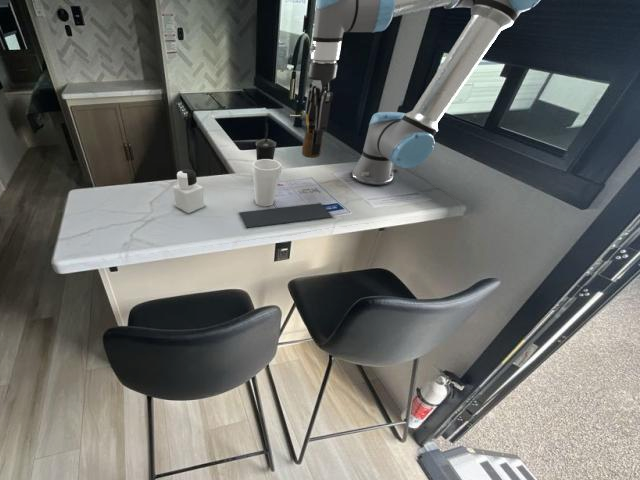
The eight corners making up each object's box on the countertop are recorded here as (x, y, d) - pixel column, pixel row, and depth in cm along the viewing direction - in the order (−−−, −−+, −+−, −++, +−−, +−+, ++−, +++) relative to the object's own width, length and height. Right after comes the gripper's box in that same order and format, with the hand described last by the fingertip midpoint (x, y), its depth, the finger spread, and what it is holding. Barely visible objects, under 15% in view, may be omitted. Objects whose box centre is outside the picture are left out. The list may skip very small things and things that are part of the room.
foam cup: (276, 209, 109) (279, 171, 100) (249, 207, 110) (250, 168, 101) (279, 197, 116) (282, 160, 107) (253, 194, 117) (255, 158, 108)
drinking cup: (274, 184, 124) (278, 127, 110) (254, 184, 124) (256, 127, 110) (272, 176, 129) (277, 120, 115) (253, 175, 129) (255, 120, 115)
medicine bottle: (191, 199, 114) (188, 165, 106) (204, 206, 110) (202, 171, 102) (175, 206, 110) (170, 171, 102) (188, 214, 107) (184, 178, 98)
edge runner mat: (320, 204, 112) (320, 203, 112) (332, 217, 105) (332, 216, 105) (239, 213, 107) (239, 212, 107) (246, 228, 100) (246, 227, 100)
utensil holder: (323, 157, 102) (330, 115, 94) (305, 159, 101) (311, 116, 93) (315, 150, 107) (321, 109, 98) (297, 152, 105) (302, 111, 97)
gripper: (299, 56, 93) (291, 141, 109) (323, 67, 80) (309, 162, 96) (324, 56, 94) (312, 140, 110) (351, 66, 81) (333, 160, 97)
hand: (311, 150), depth 103 cm, fingers closed on utensil holder, 6 cm apart
